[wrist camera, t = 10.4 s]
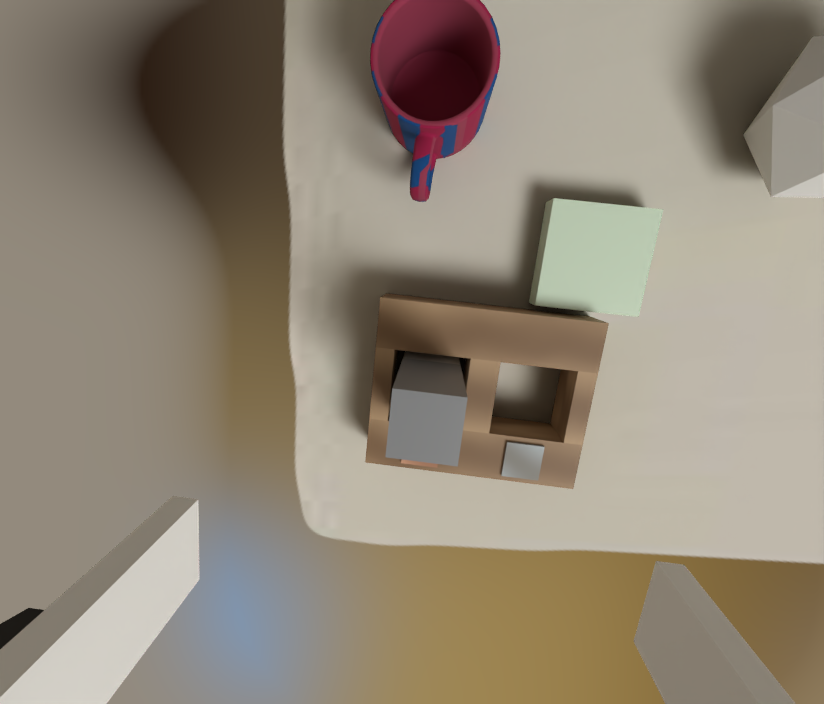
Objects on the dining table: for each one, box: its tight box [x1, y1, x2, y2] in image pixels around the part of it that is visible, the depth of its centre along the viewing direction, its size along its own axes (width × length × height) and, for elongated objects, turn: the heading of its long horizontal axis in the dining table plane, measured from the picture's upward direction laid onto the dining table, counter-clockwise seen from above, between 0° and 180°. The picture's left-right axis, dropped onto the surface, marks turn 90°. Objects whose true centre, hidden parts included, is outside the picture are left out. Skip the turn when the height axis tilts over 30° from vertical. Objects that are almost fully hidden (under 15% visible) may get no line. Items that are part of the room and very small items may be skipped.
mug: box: [370, 0, 500, 202], centre depth 25 cm, size 7×10×7 cm
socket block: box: [365, 293, 609, 489], centre depth 30 cm, size 12×15×4 cm
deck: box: [529, 198, 663, 317], centre depth 28 cm, size 7×7×2 cm
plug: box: [385, 351, 468, 467], centre depth 27 cm, size 4×4×10 cm
